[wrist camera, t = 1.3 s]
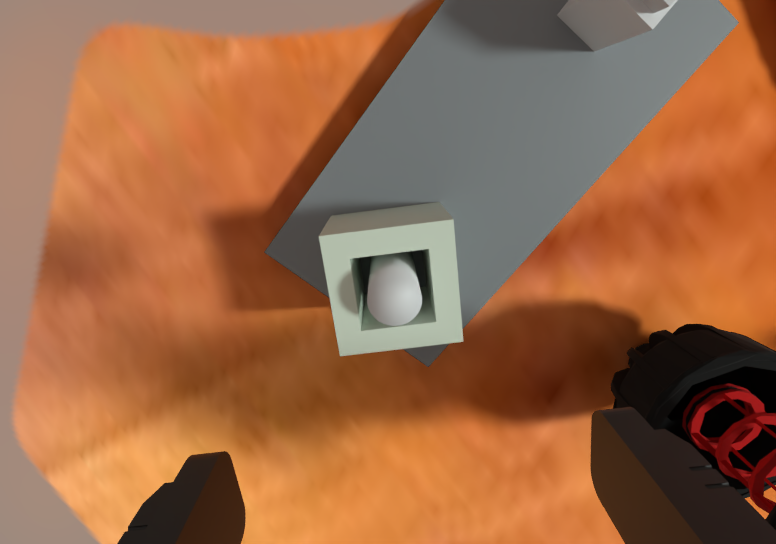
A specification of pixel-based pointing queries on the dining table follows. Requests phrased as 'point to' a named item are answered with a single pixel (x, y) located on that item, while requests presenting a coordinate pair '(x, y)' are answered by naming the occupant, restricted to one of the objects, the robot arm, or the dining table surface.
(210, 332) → the dining table surface
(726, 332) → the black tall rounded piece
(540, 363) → the dining table surface
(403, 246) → the collar
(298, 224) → the board
